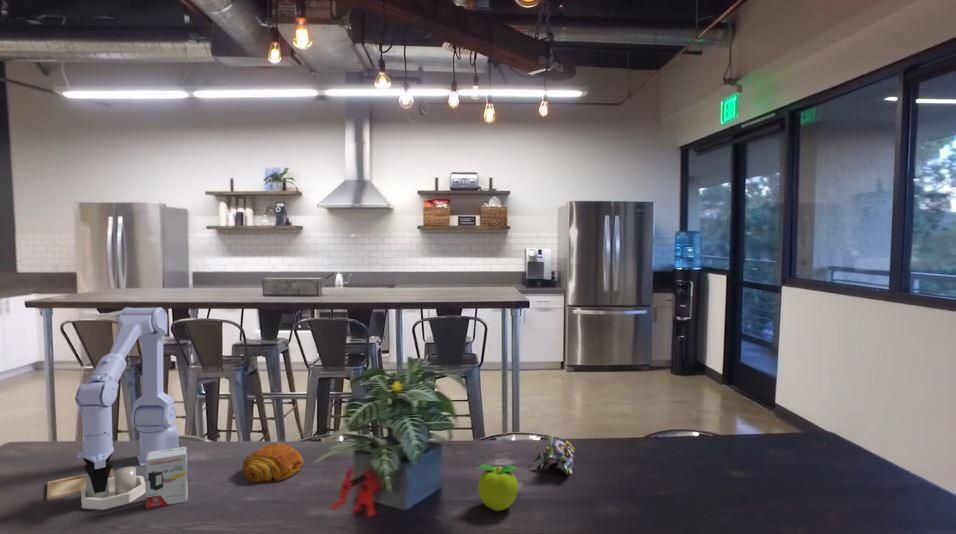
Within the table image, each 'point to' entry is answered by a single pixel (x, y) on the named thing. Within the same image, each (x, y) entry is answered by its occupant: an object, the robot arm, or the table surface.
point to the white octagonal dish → (113, 496)
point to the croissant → (272, 463)
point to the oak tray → (68, 486)
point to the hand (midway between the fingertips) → (99, 488)
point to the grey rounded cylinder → (125, 480)
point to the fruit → (497, 486)
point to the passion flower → (558, 454)
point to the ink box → (166, 477)
